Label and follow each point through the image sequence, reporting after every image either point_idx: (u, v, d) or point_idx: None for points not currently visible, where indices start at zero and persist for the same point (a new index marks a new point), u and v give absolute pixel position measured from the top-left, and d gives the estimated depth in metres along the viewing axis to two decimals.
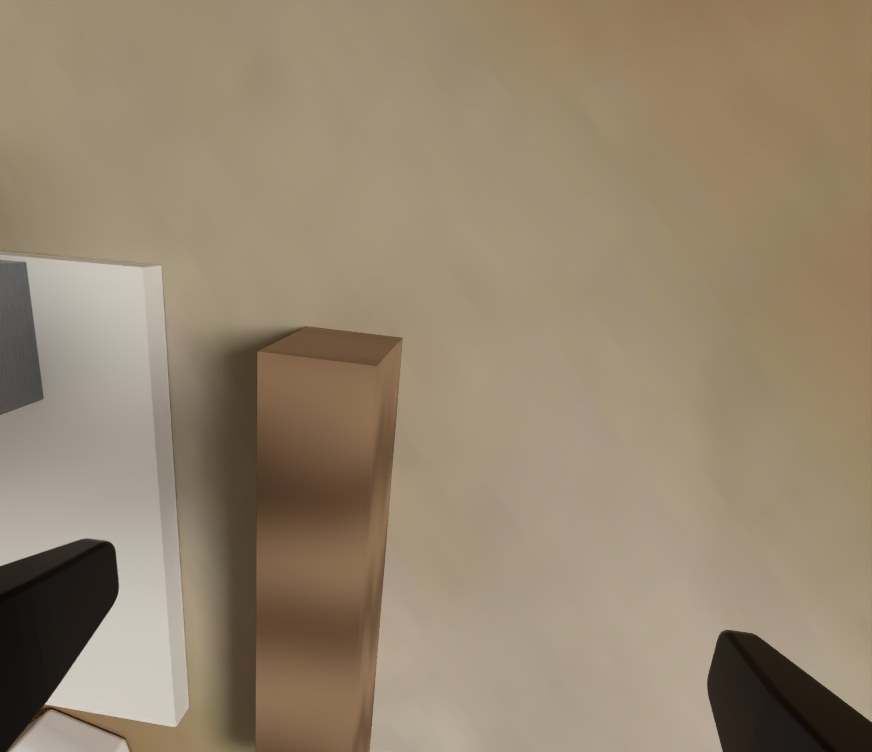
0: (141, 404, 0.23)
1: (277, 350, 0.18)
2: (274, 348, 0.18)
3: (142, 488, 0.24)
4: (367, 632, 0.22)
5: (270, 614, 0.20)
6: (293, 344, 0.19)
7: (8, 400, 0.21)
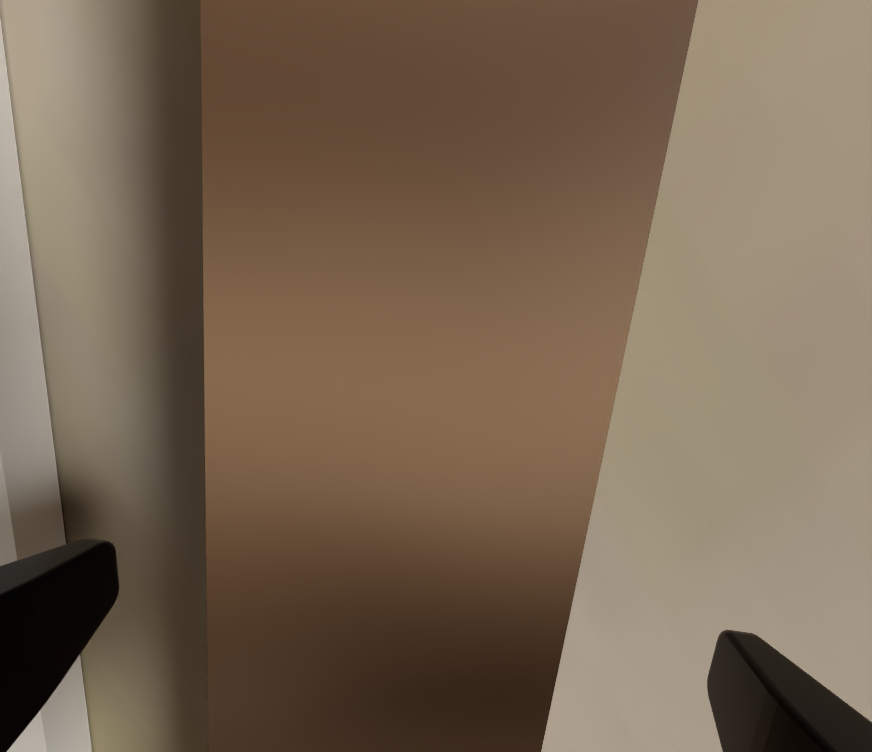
0: None
1: None
2: None
3: None
4: None
5: (254, 585, 0.06)
6: None
7: None
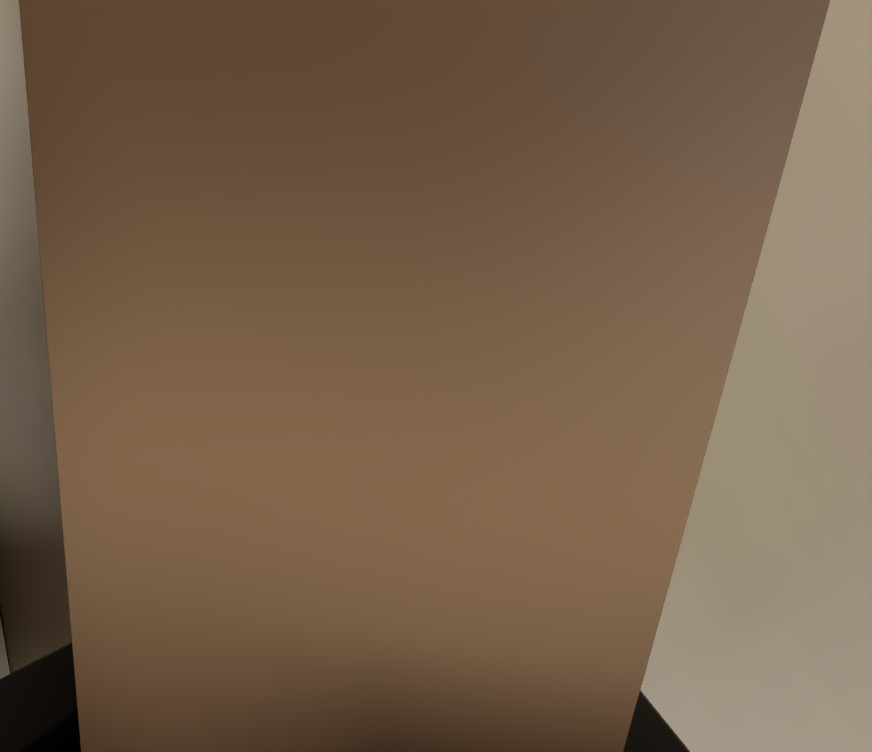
0: None
1: None
2: None
3: None
4: None
5: (148, 750, 0.04)
6: None
7: None
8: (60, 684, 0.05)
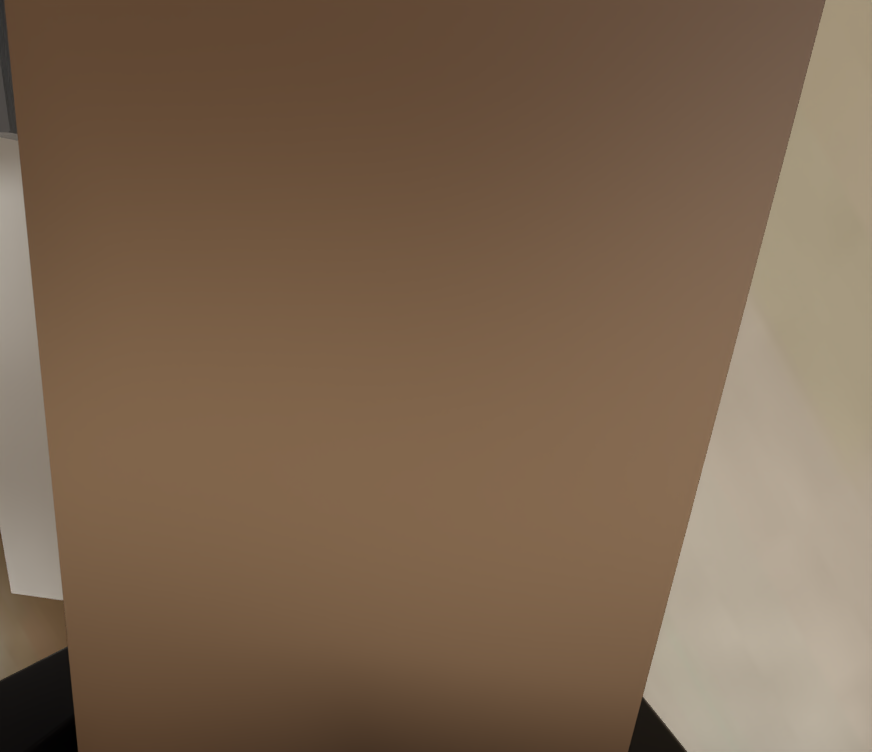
0: None
1: None
2: None
3: None
4: None
5: None
6: None
7: None
8: (63, 685, 0.05)
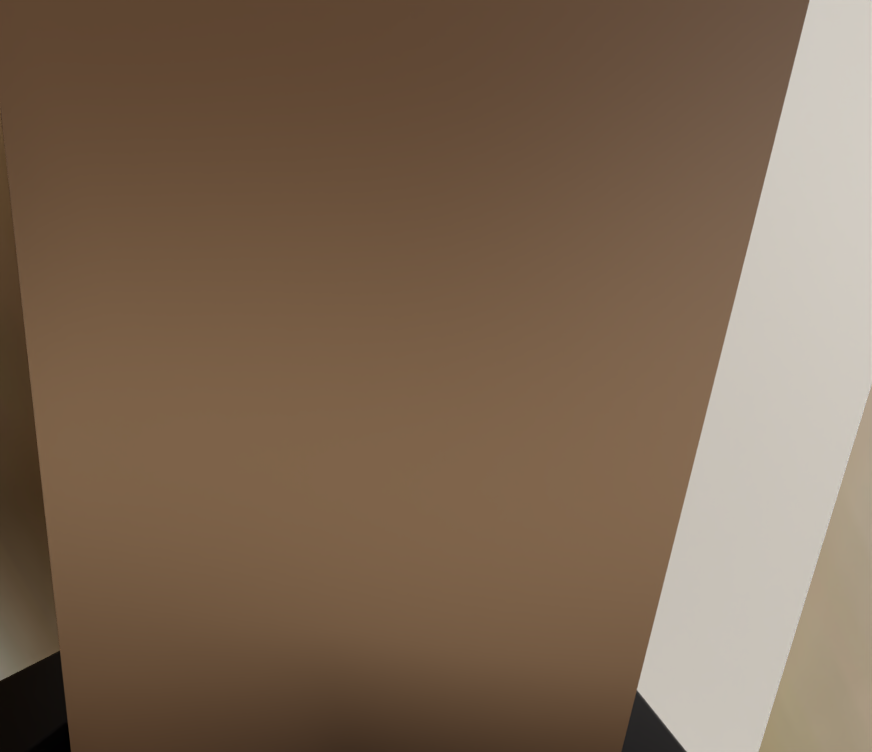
0: None
1: None
2: None
3: (845, 337, 0.11)
4: None
5: (138, 750, 0.04)
6: None
7: None
8: None
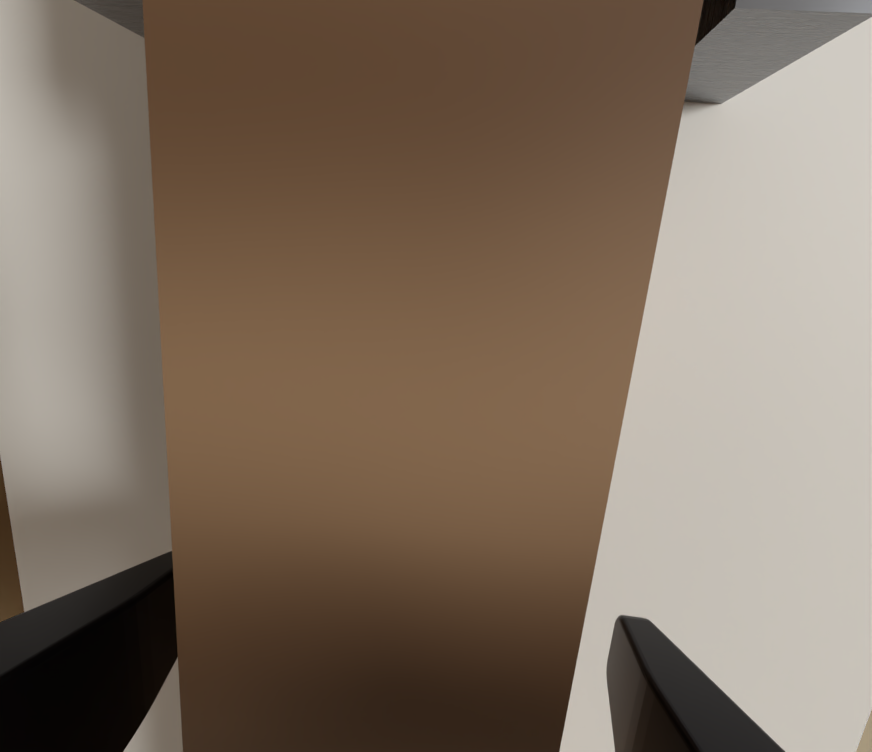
0: None
1: None
2: None
3: None
4: None
5: (228, 623, 0.05)
6: None
7: None
8: None
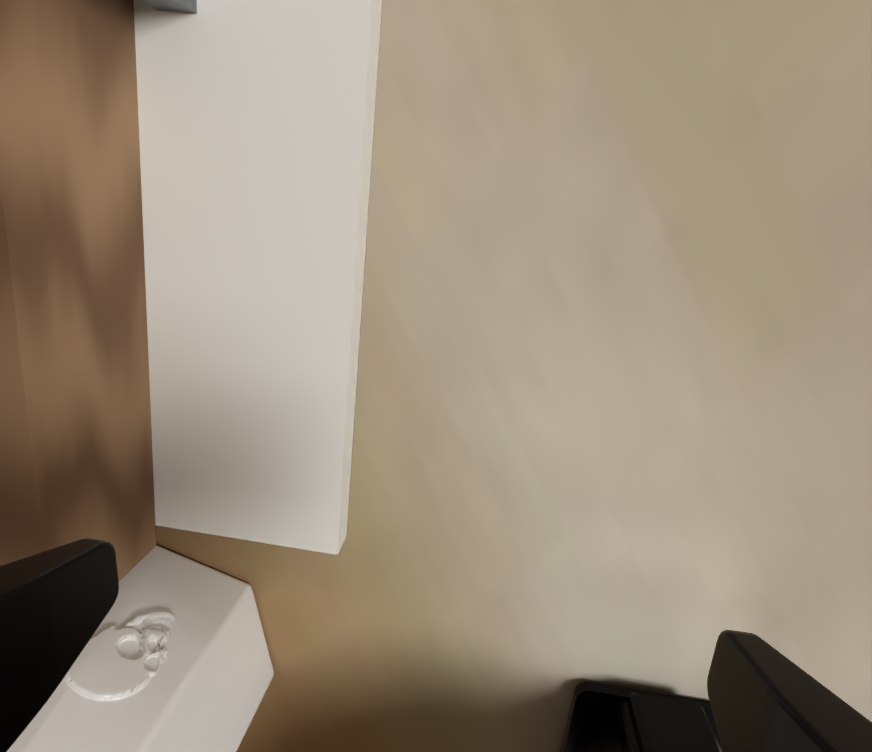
0: (353, 16, 0.15)
1: None
2: None
3: (336, 167, 0.16)
4: (69, 294, 0.14)
5: None
6: None
7: None
8: None
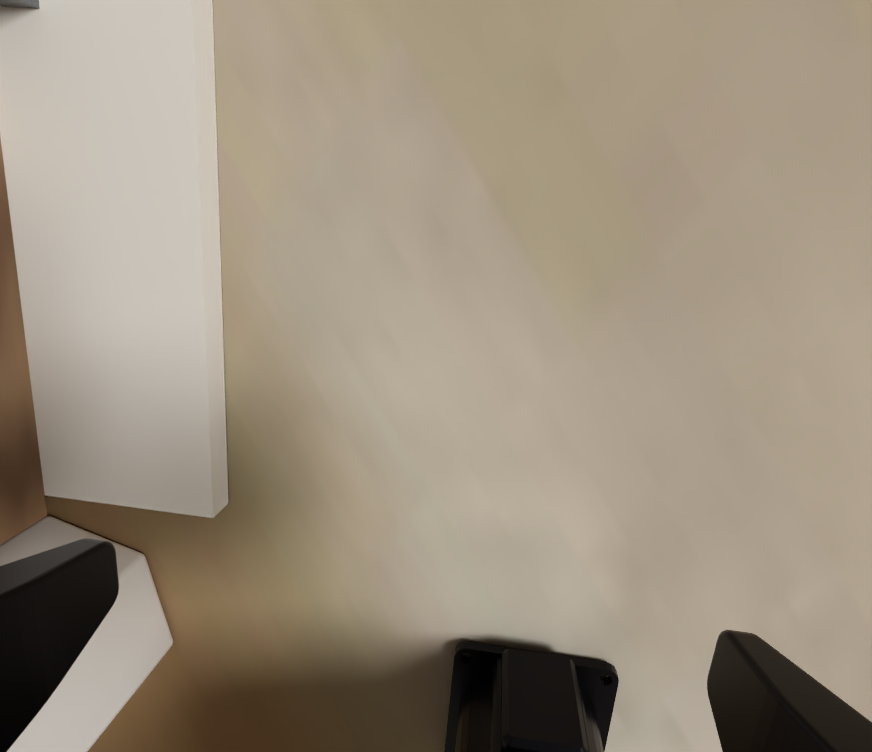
0: (177, 4, 0.16)
1: None
2: None
3: (175, 145, 0.17)
4: None
5: None
6: None
7: None
8: None
